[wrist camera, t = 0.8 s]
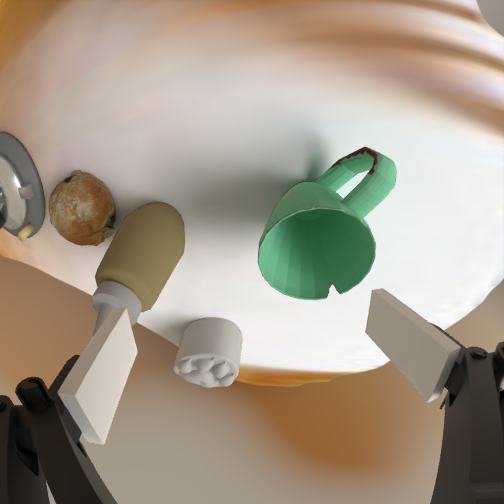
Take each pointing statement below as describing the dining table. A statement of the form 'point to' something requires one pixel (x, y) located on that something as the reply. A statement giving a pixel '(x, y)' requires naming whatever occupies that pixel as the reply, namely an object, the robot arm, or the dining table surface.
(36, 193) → the base pad
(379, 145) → the dining table surface
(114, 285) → the squeeze bottle
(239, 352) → the lumpy-topped squat cylinder
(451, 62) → the dining table surface
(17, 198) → the flange plate
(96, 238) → the bread roll
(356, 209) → the mug
